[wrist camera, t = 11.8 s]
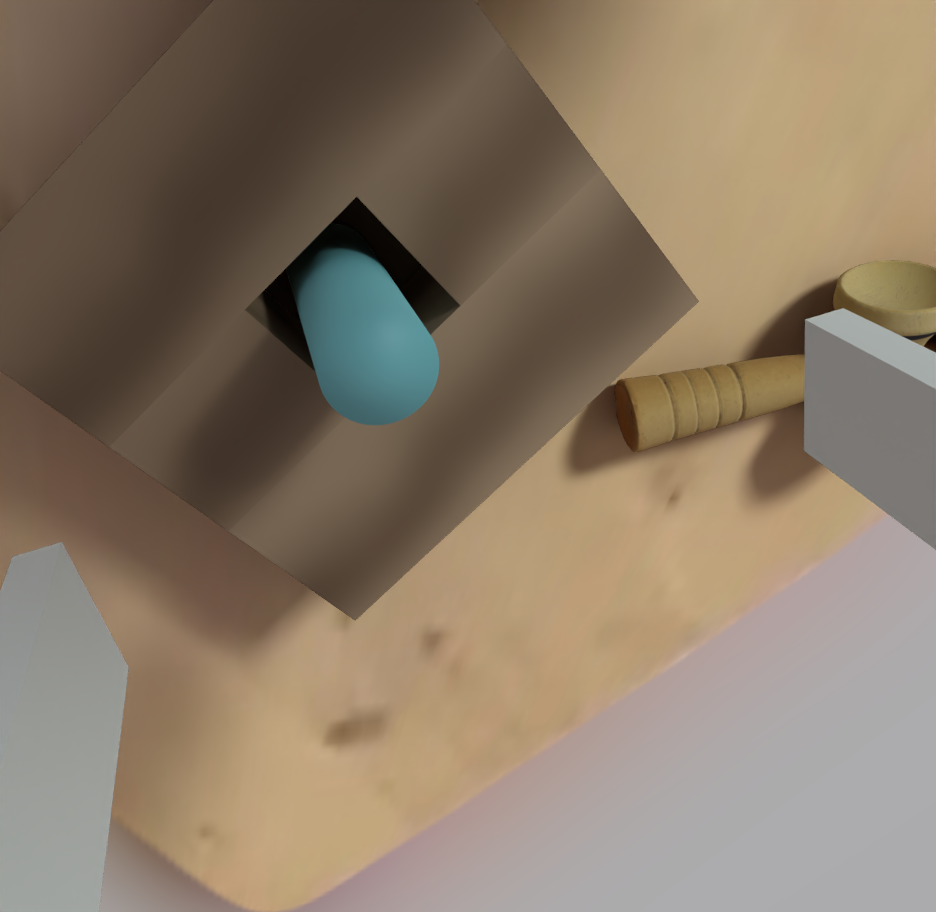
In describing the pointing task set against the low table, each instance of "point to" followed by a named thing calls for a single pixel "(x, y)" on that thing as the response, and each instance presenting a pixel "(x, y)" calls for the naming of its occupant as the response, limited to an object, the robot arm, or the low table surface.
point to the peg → (361, 330)
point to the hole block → (287, 234)
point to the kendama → (772, 362)
